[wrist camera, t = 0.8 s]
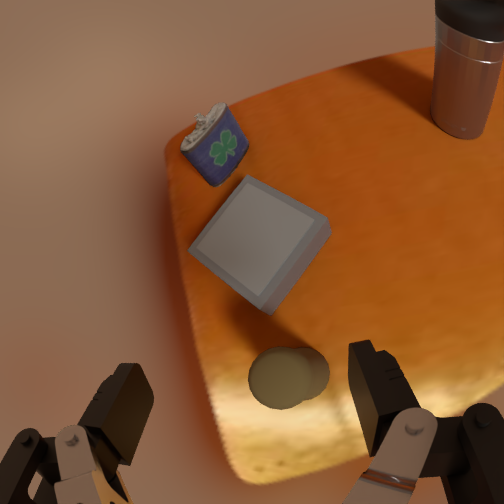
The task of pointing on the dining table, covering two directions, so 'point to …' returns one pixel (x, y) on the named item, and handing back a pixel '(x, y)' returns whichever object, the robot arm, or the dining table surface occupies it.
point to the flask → (215, 145)
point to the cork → (288, 376)
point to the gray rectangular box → (261, 242)
